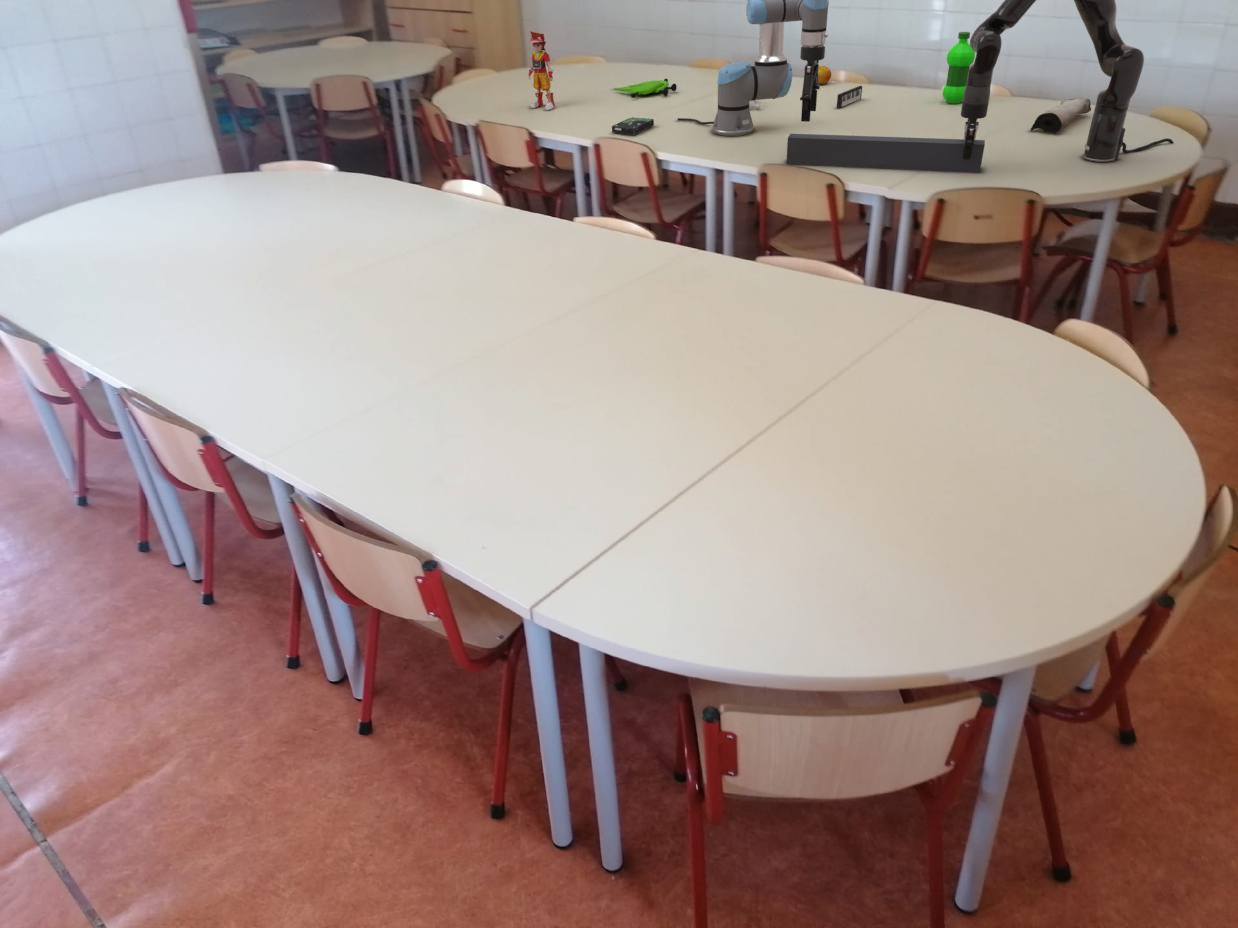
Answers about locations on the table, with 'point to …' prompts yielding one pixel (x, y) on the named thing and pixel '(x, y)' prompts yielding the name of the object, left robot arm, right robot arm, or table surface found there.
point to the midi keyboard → (849, 96)
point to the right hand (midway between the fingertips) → (966, 156)
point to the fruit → (823, 74)
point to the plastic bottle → (958, 69)
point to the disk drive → (632, 126)
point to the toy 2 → (648, 88)
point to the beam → (884, 152)
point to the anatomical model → (753, 104)
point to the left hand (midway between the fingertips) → (808, 116)
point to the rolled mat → (1061, 115)
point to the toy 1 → (541, 71)
